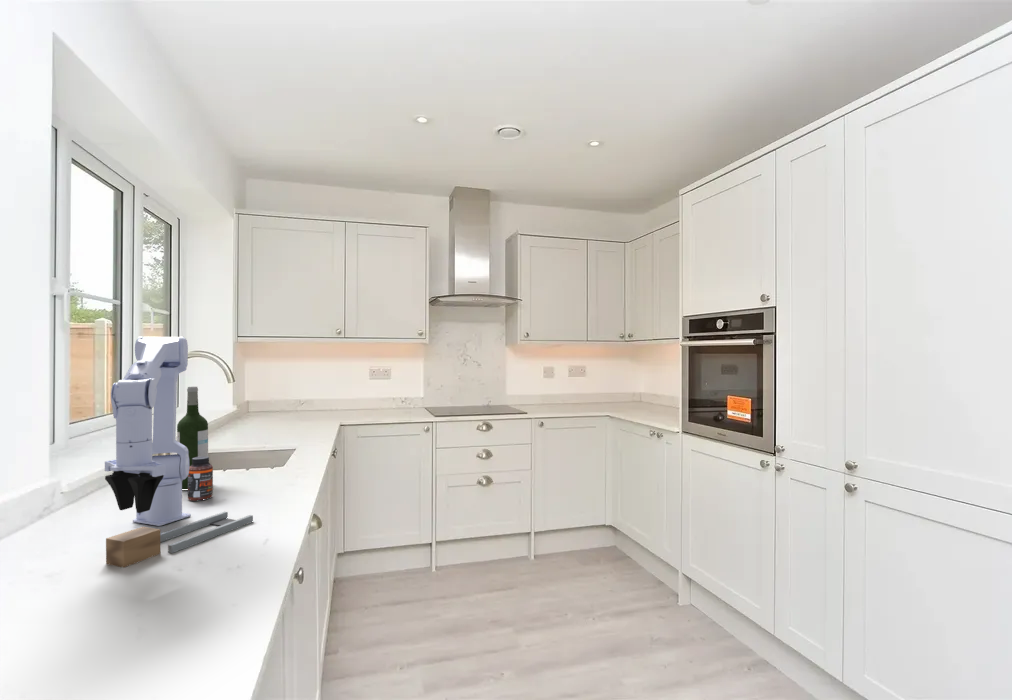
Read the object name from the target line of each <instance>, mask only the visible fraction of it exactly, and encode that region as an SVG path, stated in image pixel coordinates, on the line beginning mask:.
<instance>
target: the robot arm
mask: <svg viewBox="0 0 1012 700" xmlns="http://www.w3.org/2000/svg"><path fill="white" fill-rule="evenodd" d="M188 346H189V345H188V340H187V338H185V336H142V335H140V336H138V337H137V338H136V340H135V343H134V354H135V355H134V356H135V359H136V361H135V362H134V363H132V364H131V365H130V366H129V369H128V370H127V371H126V373H125V375H124V377H123V379H119V380H118V381H117V382H114V383H112V386H111V390H110V391H111V392H110V402H111V407H112V414H113V419H115V442H116V443H115V449H116V450H115V457H116V458H115V459H111V460H106V461H104V471H105V472H112V474H108V475H106V476H104V479H105V481H106V482H107V484H108V485H109V486H110V488H111V489H112V492H113V495H114V497H115V500H116V503H117V507H118V508H119V509H118V510H119V511H125V510H129V509H132V508H133V507H134V506H135V510H136V517H135V518H133V519H132V522H134V523H137V524H138V523H139V524H145V525H151V526H157V527H161V526H163V525H167V524H171V523H173V522H177V521H179V520H182V519H186V518H189V517H191V513H187V512H186V513H185V512H183V490H182V480H183V479H186V477H187V476H188V474H189V456H188V449H187V447H186V446H184V445H183V444H181V443H179V442H178V441H177V439H176V438H177V395H178V394H177V393H178V392H177V390H178V385H177V384H178V379H179V375H180V374H181V373H183V372H185V371H186V370H187V367H188V362H189V361H188V360H189V359H188V358H189V357H188V356H189V354H188V353H189V347H188ZM172 453H174V454H172ZM177 453H178V454H177ZM155 454H157V455H155ZM158 454H159V455H158ZM160 454H161V455H160Z"/></svg>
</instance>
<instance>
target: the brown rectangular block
mask: <svg viewBox="0 0 1012 700" xmlns="http://www.w3.org/2000/svg"><path fill="white" fill-rule="evenodd" d="M160 533H161V529H160V528H156V527H150V526H149V527H148V526H141V527H137V528H135V529H131V530H128V531H124V532H122V533H118V534H115V535H112V536H109V537H106V538H105V564H106V565H110V566H114V567H118V568H119V567H120V568H123V569H124V568H126V567H129V566H132V565H136V564H138V563H140V562H143V561H145V560H148V559H150V558H153V557H156V556H158V555H161V542H160ZM137 562H138V563H137Z"/></svg>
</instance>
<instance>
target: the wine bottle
mask: <svg viewBox="0 0 1012 700" xmlns="http://www.w3.org/2000/svg"><path fill="white" fill-rule="evenodd" d="M198 391H199V389H198V386H187V388H186V392H187V398H186V399H187V400H186V414H185V415H184V416H183V417H182V418H181V419H180V420H179V421H178V423H176V441H178V442H179V443H181V444H183V445H184V446H186V447H187V449H188V456H189V467H190V466H191V465H192V458H195V457H201V456H207V457H209V423H208V421H207V419H206V418H205V417H204V416H202V414H200V411H199V395H198V394H199V393H198ZM176 454H178V453H176ZM182 489H188V476H187V477H186V479H183V480H182Z"/></svg>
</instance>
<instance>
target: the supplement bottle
mask: <svg viewBox="0 0 1012 700" xmlns="http://www.w3.org/2000/svg"><path fill="white" fill-rule="evenodd" d="M213 473H214V466H213V465H212V464H211V463H210V457H209V456H208V457H207V456H201V457H195V458H192V465H191V466H190V467H189V474H188V490H187V499H188V500H189V501H191V502H198V501H197V500H201V501H204V500H203V499H206V500H208V499H207V498H209V499H211V498H212V497H213V495H214V494H213V492H214V491H213V490H214V486H213V485H214V484H213V483H214V474H213ZM210 497H211V498H210Z"/></svg>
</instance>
